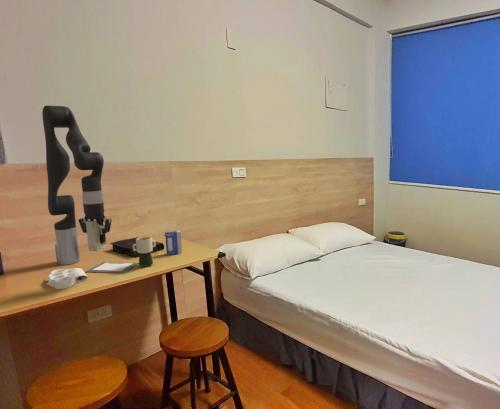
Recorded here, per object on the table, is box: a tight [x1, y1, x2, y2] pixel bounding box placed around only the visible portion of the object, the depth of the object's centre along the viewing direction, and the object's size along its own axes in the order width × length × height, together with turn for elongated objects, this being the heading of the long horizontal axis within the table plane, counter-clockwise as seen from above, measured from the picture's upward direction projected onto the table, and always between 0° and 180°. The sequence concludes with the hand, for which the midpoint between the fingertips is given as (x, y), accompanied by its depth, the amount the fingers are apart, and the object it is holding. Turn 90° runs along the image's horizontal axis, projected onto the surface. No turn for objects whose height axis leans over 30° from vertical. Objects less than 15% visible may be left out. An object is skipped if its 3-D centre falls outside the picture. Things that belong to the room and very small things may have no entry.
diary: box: [109, 236, 165, 259], centre depth 178 cm, size 19×25×5 cm
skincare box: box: [86, 221, 107, 252], centre depth 134 cm, size 6×4×12 cm
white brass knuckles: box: [44, 267, 88, 290], centre depth 135 cm, size 3×18×15 cm
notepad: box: [85, 261, 139, 274], centre depth 150 cm, size 19×13×1 cm
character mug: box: [133, 236, 157, 267], centre depth 151 cm, size 11×7×13 cm, turn 130°
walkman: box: [164, 230, 183, 256], centre depth 168 cm, size 8×3×12 cm, turn 103°
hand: (97, 242), depth 134 cm, fingers closed on skincare box, 4 cm apart
